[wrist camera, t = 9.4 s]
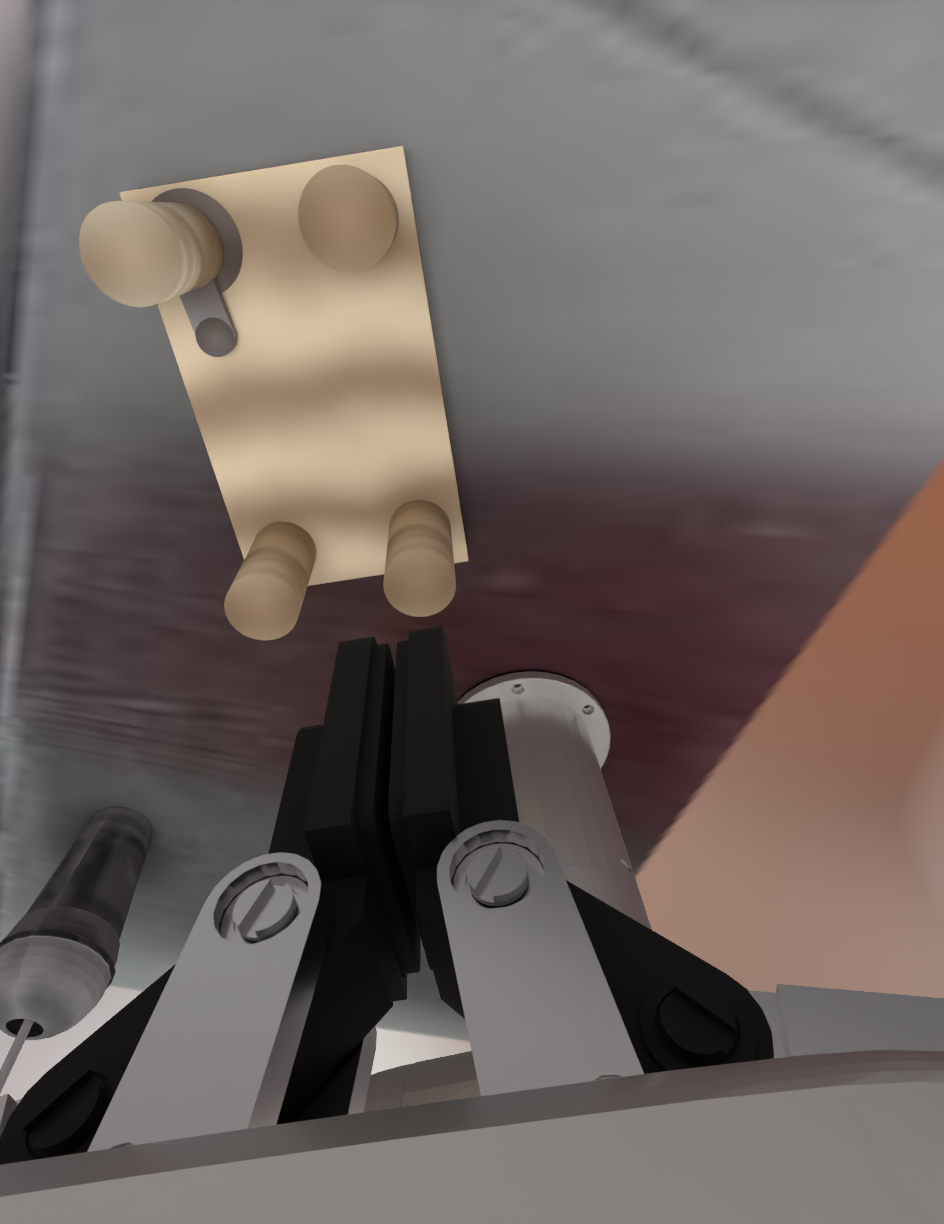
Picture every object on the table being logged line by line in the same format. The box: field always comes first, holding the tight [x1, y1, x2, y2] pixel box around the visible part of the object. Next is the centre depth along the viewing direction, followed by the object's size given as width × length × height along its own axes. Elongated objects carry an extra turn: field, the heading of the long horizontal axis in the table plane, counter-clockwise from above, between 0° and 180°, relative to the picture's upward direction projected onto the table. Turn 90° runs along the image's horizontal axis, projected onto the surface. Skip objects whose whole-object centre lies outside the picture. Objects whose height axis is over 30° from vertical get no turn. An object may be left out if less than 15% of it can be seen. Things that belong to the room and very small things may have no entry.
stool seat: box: [120, 146, 468, 640], centre depth 35 cm, size 21×13×10 cm, turn 8°
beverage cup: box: [0, 807, 152, 1093], centre depth 46 cm, size 7×7×20 cm
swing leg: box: [79, 201, 237, 357], centre depth 30 cm, size 7×4×7 cm, turn 13°
